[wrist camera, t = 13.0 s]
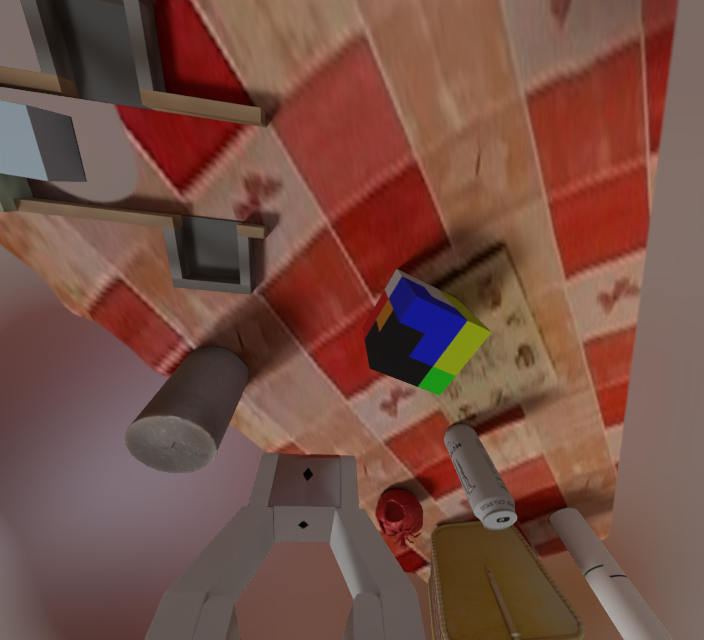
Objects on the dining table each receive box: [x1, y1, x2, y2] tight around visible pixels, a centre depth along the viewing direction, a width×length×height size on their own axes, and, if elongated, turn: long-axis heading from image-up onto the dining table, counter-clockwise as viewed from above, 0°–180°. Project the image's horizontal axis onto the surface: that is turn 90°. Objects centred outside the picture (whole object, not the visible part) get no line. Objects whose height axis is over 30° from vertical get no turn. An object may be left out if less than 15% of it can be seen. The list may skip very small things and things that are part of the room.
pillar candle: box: [125, 346, 249, 473], centre depth 36 cm, size 10×10×15 cm
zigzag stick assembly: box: [0, 0, 268, 294], centre depth 28 cm, size 27×27×4 cm
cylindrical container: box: [549, 508, 673, 640], centre depth 55 cm, size 7×7×25 cm
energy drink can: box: [444, 424, 517, 530], centre depth 45 cm, size 6×6×15 cm
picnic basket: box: [428, 520, 585, 640], centre depth 58 cm, size 29×26×30 cm
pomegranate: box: [376, 489, 423, 549], centre depth 56 cm, size 10×10×9 cm
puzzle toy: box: [363, 269, 491, 395], centre depth 35 cm, size 10×10×10 cm
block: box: [0, 100, 87, 182], centre depth 26 cm, size 6×6×4 cm
